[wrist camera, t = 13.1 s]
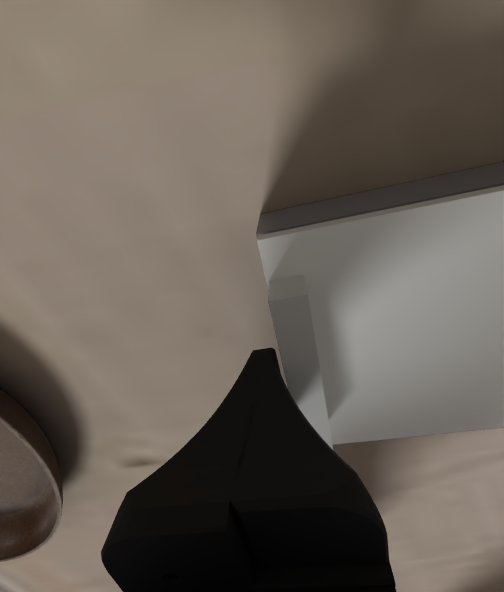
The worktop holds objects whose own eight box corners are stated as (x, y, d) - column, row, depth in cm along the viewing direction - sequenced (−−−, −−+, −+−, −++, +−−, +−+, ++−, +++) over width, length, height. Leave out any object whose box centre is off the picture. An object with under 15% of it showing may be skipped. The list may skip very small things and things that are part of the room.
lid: (520, 413, 14) (562, 459, 12) (302, 436, 15) (306, 481, 13) (563, 173, 10) (639, 180, 8) (257, 235, 11) (254, 255, 9)
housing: (652, 335, 16) (746, 383, 13) (295, 383, 19) (300, 431, 15) (733, 111, 12) (902, 100, 9) (260, 214, 14) (256, 233, 11)
